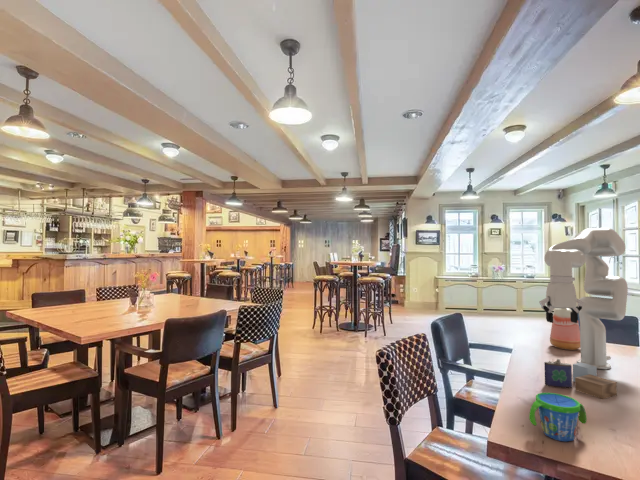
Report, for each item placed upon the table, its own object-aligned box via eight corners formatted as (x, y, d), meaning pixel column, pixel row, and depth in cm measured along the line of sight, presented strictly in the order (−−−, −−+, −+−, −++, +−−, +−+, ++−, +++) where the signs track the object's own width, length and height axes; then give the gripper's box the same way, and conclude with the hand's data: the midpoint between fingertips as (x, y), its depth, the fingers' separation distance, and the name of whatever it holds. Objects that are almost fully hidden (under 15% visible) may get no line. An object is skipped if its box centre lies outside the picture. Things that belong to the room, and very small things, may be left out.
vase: (588, 351, 188) (587, 295, 190) (561, 351, 189) (560, 295, 190) (569, 344, 203) (568, 292, 204) (544, 344, 203) (543, 292, 204)
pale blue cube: (581, 379, 146) (581, 362, 147) (596, 384, 141) (596, 366, 141) (573, 381, 144) (572, 364, 144) (587, 386, 139) (587, 368, 139)
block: (589, 387, 139) (589, 374, 139) (616, 395, 130) (616, 382, 131) (575, 390, 135) (575, 377, 135) (602, 399, 127) (602, 385, 127)
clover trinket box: (570, 386, 139) (570, 358, 139) (573, 389, 136) (573, 360, 136) (543, 384, 141) (543, 356, 141) (546, 386, 138) (545, 358, 139)
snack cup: (540, 445, 96) (540, 406, 96) (520, 426, 106) (519, 391, 107) (600, 446, 95) (599, 408, 96) (573, 427, 106) (573, 392, 106)
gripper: (576, 279, 150) (577, 320, 149) (534, 279, 150) (535, 320, 150) (589, 281, 142) (590, 324, 141) (545, 280, 143) (545, 323, 142)
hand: (561, 322), depth 146 cm, fingers open, 9 cm apart
